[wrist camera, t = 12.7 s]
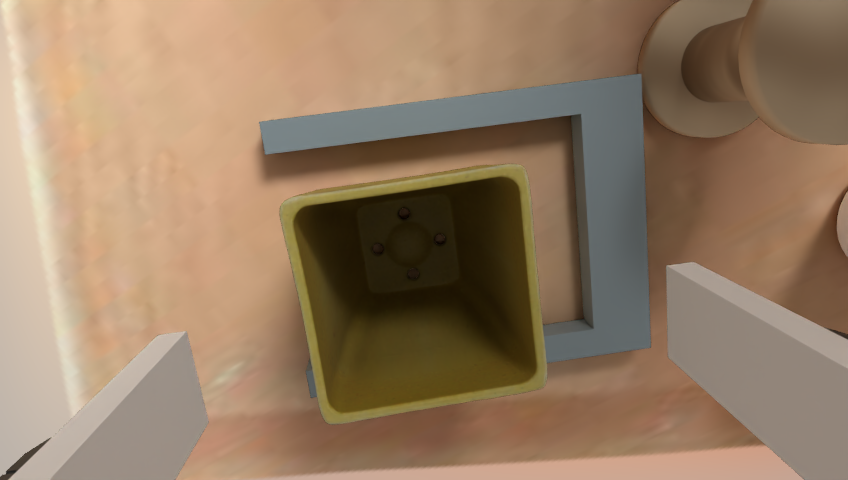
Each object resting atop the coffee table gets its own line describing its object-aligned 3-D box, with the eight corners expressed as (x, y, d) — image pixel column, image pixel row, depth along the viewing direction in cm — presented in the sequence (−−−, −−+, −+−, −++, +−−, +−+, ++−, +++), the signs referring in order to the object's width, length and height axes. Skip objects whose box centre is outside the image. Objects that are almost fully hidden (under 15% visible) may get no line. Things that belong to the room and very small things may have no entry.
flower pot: (501, 311, 30) (551, 392, 21) (341, 337, 29) (322, 430, 20) (482, 148, 28) (528, 161, 19) (310, 173, 27) (275, 199, 19)
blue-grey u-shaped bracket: (314, 384, 30) (310, 397, 28) (265, 121, 27) (259, 121, 25) (638, 336, 30) (650, 347, 29) (627, 75, 27) (641, 73, 26)
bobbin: (634, 0, 27) (758, -59, 18) (773, -17, 27) (962, -84, 18) (640, 145, 28) (755, 156, 19) (771, 128, 28) (944, 131, 20)
